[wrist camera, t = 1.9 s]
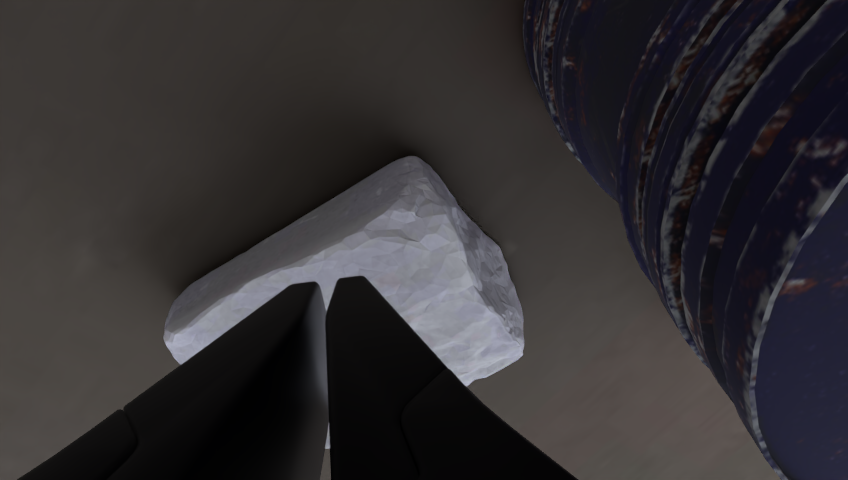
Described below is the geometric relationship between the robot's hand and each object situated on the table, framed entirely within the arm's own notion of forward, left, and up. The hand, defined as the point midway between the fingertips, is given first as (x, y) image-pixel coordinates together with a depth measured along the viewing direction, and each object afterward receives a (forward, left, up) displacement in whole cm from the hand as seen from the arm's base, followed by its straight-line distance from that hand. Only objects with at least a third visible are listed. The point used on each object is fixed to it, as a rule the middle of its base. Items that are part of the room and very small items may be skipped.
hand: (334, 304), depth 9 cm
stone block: (+10, -3, -13) cm, 17 cm away
